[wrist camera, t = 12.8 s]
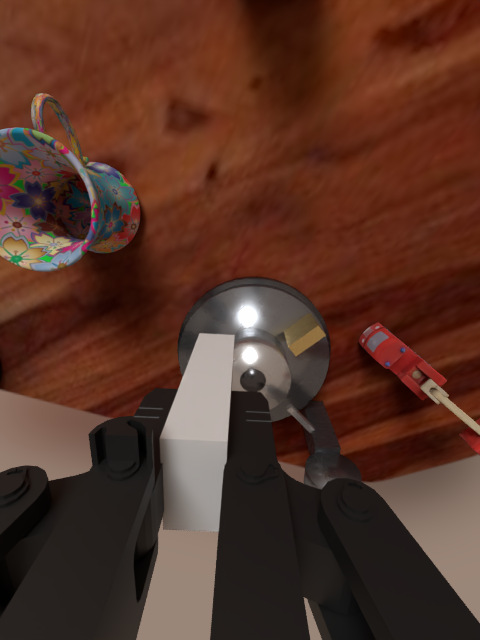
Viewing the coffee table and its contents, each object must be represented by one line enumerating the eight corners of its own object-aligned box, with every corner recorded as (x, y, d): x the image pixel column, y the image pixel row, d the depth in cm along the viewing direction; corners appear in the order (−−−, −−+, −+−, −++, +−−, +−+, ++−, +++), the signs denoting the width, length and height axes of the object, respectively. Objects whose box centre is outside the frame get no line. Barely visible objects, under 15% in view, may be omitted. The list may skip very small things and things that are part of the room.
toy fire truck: (374, 317, 33) (420, 353, 24) (457, 388, 36) (528, 446, 26) (352, 339, 34) (388, 382, 25) (434, 406, 36) (495, 469, 27)
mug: (146, 261, 32) (98, 279, 22) (60, 250, 32) (-28, 263, 22) (149, 134, 29) (93, 86, 19) (52, 121, 29) (-57, 67, 19)
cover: (206, 353, 32) (199, 373, 28) (260, 315, 31) (261, 331, 26) (246, 399, 34) (245, 425, 30) (298, 366, 32) (306, 388, 28)
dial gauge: (279, 416, 38) (291, 507, 26) (282, 379, 36) (297, 458, 24) (329, 419, 38) (365, 512, 26) (335, 382, 36) (376, 463, 24)
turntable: (152, 343, 34) (134, 366, 29) (265, 251, 30) (268, 257, 25) (243, 438, 37) (241, 473, 32) (354, 365, 34) (373, 391, 28)
